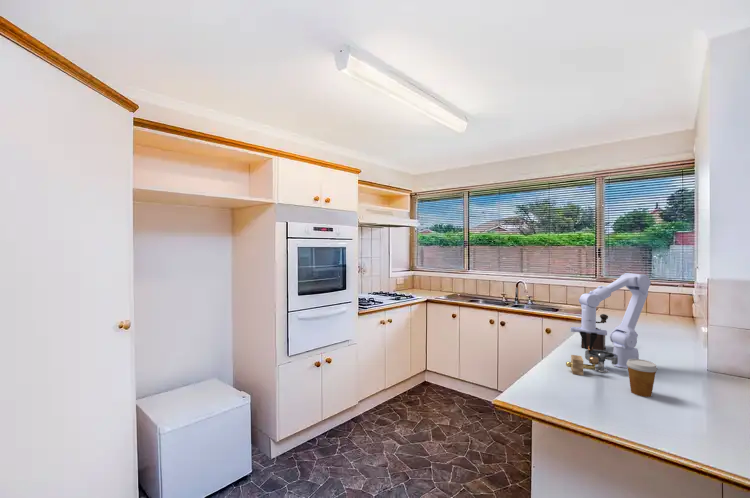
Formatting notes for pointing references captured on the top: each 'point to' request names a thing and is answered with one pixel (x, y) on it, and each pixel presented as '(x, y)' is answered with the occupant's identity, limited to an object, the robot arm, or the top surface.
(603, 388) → the top surface
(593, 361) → the brass bar with knob
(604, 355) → the locking wheel
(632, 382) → the disposable coffee cup
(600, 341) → the coffee grinder
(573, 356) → the block
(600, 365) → the axle post
